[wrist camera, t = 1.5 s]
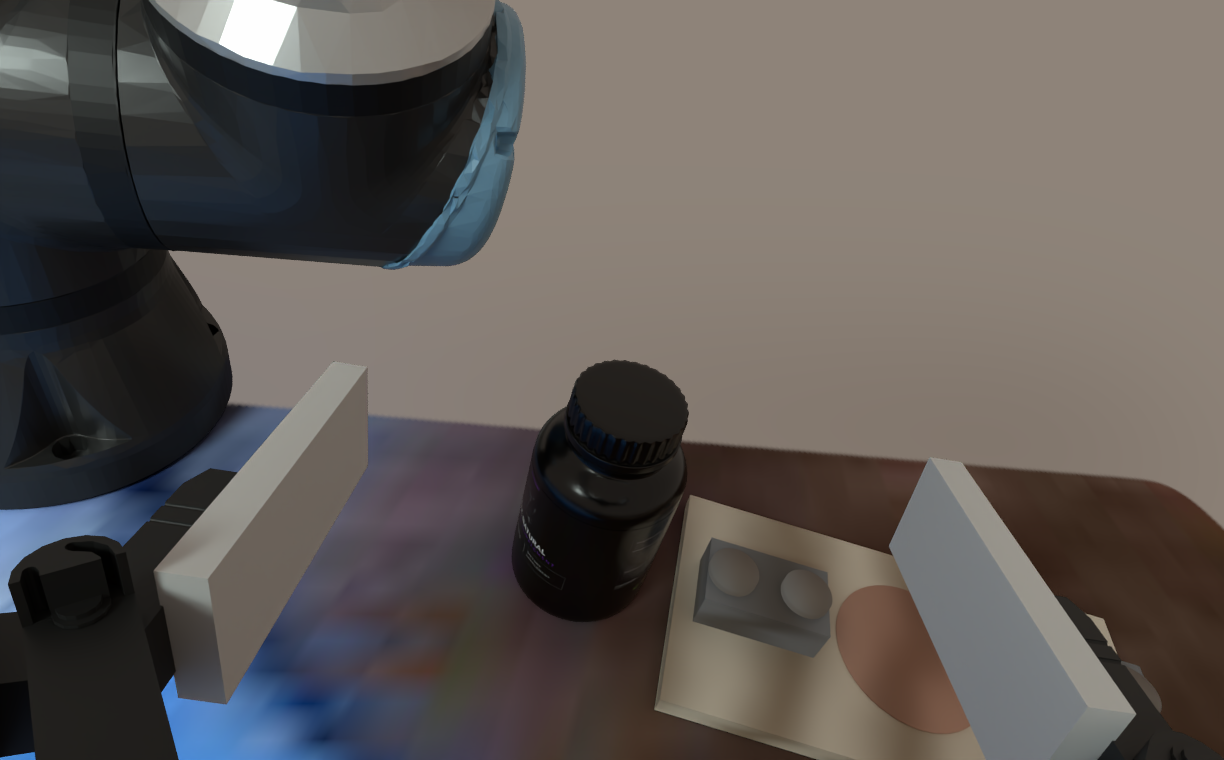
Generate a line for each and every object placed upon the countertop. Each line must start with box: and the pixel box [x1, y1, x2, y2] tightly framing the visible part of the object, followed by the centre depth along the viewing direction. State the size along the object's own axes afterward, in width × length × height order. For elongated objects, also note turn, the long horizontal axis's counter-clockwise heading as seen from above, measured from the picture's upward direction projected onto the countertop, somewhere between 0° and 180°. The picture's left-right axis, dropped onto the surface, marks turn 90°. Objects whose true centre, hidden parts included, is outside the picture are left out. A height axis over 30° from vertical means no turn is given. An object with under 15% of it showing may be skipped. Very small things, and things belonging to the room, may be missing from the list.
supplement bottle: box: [512, 360, 689, 622], centre depth 32 cm, size 7×7×12 cm
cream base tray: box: [654, 495, 1162, 760], centre depth 34 cm, size 24×12×3 cm, turn 79°
